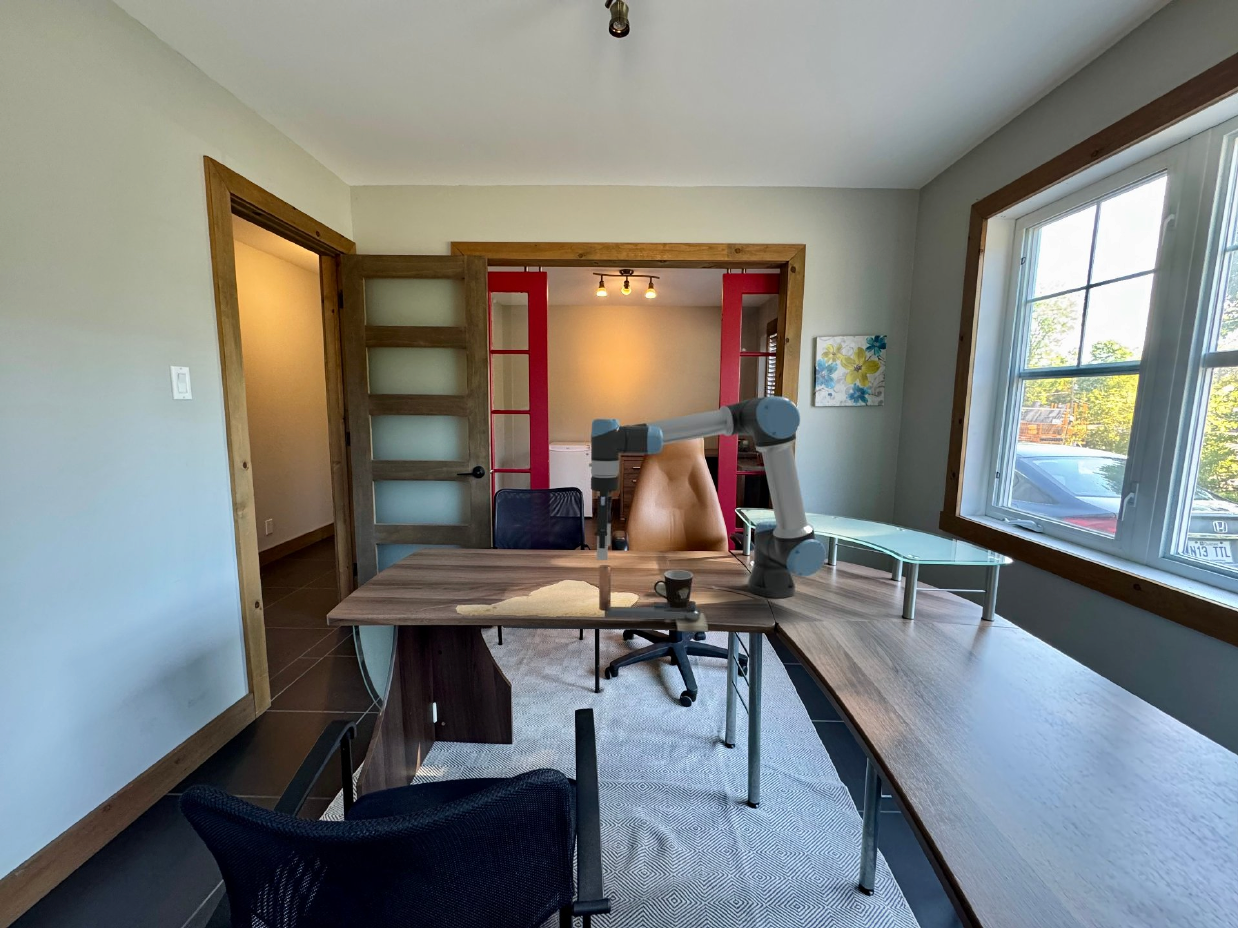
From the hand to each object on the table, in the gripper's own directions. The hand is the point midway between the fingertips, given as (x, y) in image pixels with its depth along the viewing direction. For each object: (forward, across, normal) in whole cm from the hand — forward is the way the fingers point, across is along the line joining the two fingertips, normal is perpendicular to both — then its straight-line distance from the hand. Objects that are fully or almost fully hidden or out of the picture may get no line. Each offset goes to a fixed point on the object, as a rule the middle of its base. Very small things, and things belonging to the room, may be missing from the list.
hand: (603, 552), depth 128 cm
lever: (+18, -1, +13) cm, 22 cm away
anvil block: (+20, -22, +20) cm, 36 cm away
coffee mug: (+20, -13, +20) cm, 31 cm away
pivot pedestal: (+20, 0, +24) cm, 32 cm away
